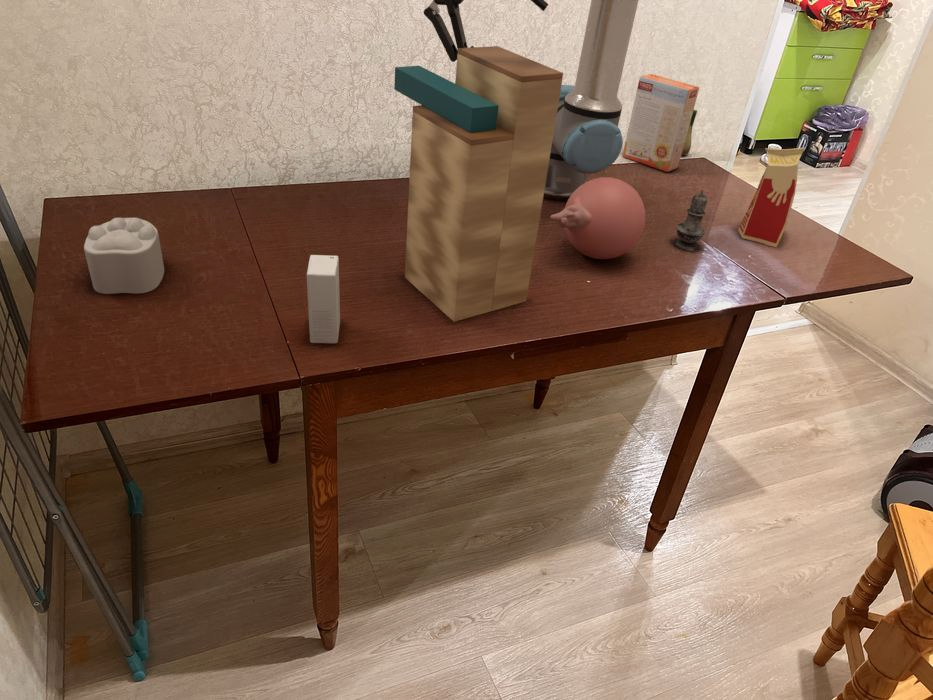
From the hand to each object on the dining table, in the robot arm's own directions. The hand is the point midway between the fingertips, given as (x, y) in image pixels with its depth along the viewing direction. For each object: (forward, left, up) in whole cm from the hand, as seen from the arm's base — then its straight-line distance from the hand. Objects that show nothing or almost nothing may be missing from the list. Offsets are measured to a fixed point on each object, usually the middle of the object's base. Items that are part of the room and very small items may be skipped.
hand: (521, 41), depth 123 cm
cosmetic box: (+26, -42, -37) cm, 62 cm away
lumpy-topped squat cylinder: (0, -68, -37) cm, 77 cm away
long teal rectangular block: (+15, -20, -6) cm, 26 cm away
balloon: (+14, +13, -37) cm, 41 cm away
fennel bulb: (-32, +72, -37) cm, 87 cm away
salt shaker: (+15, +37, -37) cm, 54 cm away
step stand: (+19, -16, -36) cm, 44 cm away
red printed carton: (+15, +57, -37) cm, 69 cm away
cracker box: (-28, +59, -37) cm, 75 cm away
